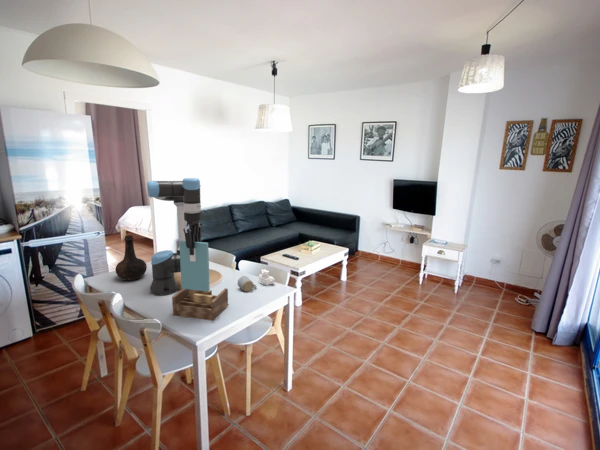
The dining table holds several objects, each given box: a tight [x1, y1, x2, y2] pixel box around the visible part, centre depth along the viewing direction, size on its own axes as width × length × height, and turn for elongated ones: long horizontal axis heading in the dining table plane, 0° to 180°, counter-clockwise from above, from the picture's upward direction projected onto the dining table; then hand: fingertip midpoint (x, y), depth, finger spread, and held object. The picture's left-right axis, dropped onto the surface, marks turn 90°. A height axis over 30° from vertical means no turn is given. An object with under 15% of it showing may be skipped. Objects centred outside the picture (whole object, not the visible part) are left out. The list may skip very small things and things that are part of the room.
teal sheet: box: [178, 240, 211, 292], centre depth 151 cm, size 14×2×24 cm, turn 79°
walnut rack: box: [171, 288, 230, 322], centre depth 161 cm, size 22×18×11 cm
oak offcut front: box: [193, 293, 213, 305], centre depth 159 cm, size 10×2×9 cm, turn 79°
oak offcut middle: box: [189, 289, 213, 299], centre depth 162 cm, size 12×2×10 cm, turn 79°
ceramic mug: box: [237, 275, 257, 293], centre depth 191 cm, size 11×8×8 cm
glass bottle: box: [115, 234, 148, 281], centre depth 200 cm, size 18×18×28 cm
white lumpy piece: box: [257, 268, 276, 286], centre depth 199 cm, size 12×8×11 cm
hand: (194, 260), depth 150 cm, fingers closed on teal sheet, 2 cm apart
